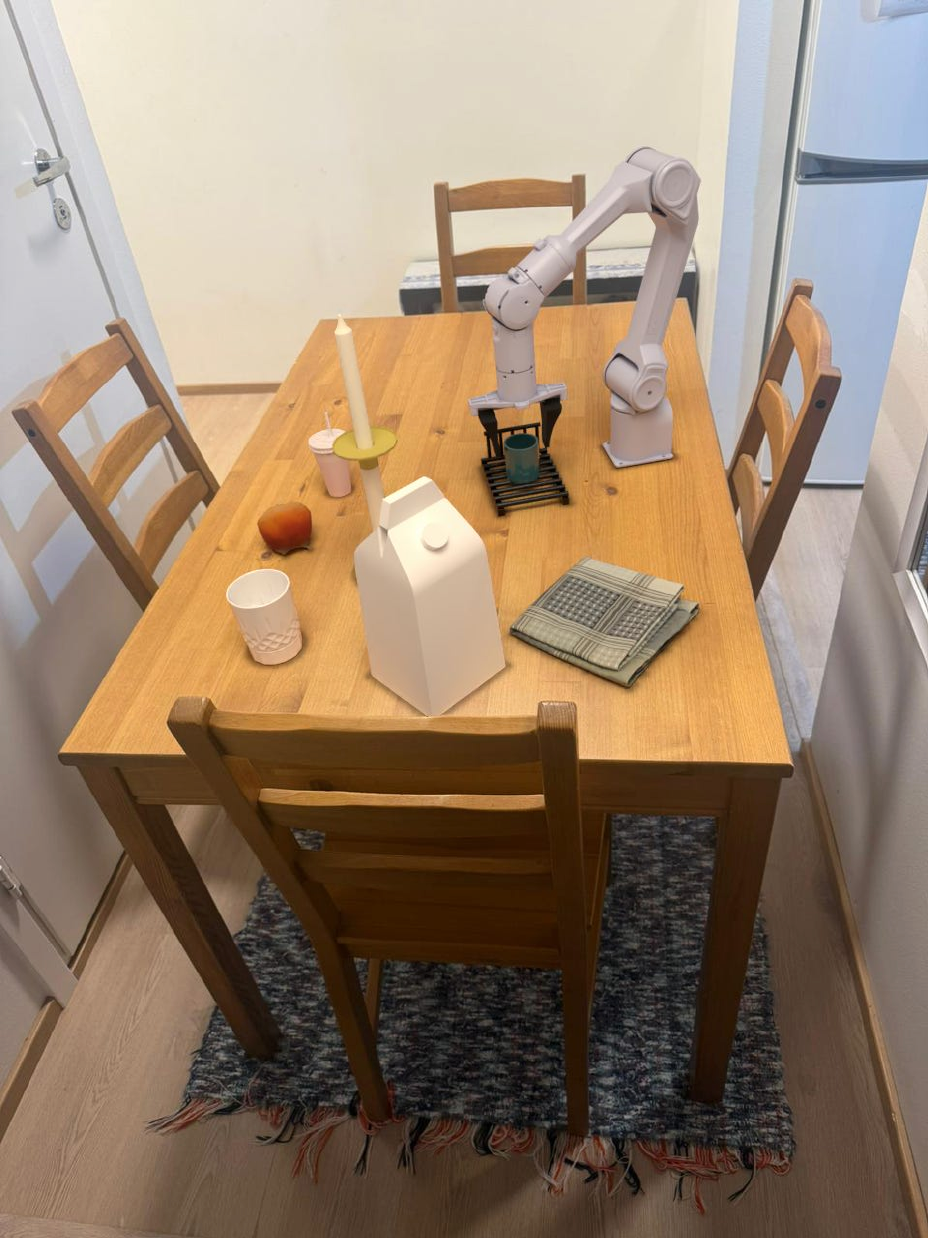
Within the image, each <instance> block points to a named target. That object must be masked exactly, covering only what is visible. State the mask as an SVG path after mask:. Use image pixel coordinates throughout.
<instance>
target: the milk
mask: <svg viewBox="0 0 928 1238" xmlns="http://www.w3.org/2000/svg"><path fill="white" fill-rule="evenodd" d="M437 485H438V484H436V482H435V481H434V480H433V479H432V478H430V477H428V476H427V475H426V476H425V475H424V476H423V475H422V477H420V478H417V479H416V480H414V481H413V482H411V483H409V484H407V485H405V486H404V487H401V488H400V489H398V490H396V491H395V492H392V493H391V494H389V495H387V496H386V497H385V498H384V499H382V505H381V512H380V520H379V527H378V528H377V529H376V530H375V531H374V532H373V531H372V532H371V533H370V534H369V535H368V536H367V537H366V538H364V540H363V541H362V542H360V544H359V545H357V546H356V547H355V551H354V553H353V564H354V572H355V571H356V576H355V578H356V577H357V580H356V583H357V588H358V589H357V590H358V597H359V602H360V608H361V609H360V610H361V616H362V622H363V629H364V634H365V642H366V647H367V648H366V649H367V653H368V654H367V655H368V661H369V667H370V674H371V677H372V678H374V679H375V680H376V681H378V682H379V683H381V684H382V685H383V686H384V687H386V688H387V689H388V690H390V691H391V692H393V693H394V694H396V696H399V697H400V698H401V699H403V700H404V701H405V702H407V703H408V704H409V705H411V706H412V707H413V708H415V709H417V710H418V711H419V712H420V713H422V714H423V715H425V716H426V717H427V716H439V717H440V716H442V715H443V714H444V713H445V712H447V711H448V710H449V709H451V708H452V707H453V706H455V705H457V703H459V702H460V701H461V700H463V699H464V698H466V697H467V696H468V695H470V694H471V693H472V692H474V691H476V689H478V688H479V687H481V686H482V685H483V684H484V683H486V682H488V681H489V680H490V679H491V678H493V677H494V676H496V675H497V674H498V673H500V672H501V671H502V670H503V669H505V668H506V667H507V665H506V659H505V652H504V648H503V641H502V635H501V629H500V624H499V616H498V611H497V604H496V599H495V593H494V588H493V587H494V586H493V582H492V575H491V568H490V564H489V563H490V562H489V558H488V557H489V556H488V551H487V548H486V545H485V543H484V541H483V539H482V537H480V535H479V533H478V532H477V531H476V530H475V529H474V527H472V526H471V525H470V523H469V522H468V521H467V520H466V518H465V517H463V515H462V514H461V513H460V512H459V511H458V510H457V509H456V507H454V505H453V504H452V503H451V502H450V501H449V500H448V498H446V497H445V495H444V494H443V492H442V491H441V490H440V488H439V487H438V486H437Z"/></svg>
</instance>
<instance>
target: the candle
mask: <svg viewBox="0 0 928 1238" xmlns="http://www.w3.org/2000/svg"><path fill="white" fill-rule="evenodd" d="M337 311H338V314H337V325H336V329H335V330H334V332H333V334H334V339H335V344H336V348H337V354H338V359H339V364H340V369H341V373H342V378H343V384H344V388H345V393H346V399H347V403H348V408H349V412H350V418H351V423H352V429H350V430H347V431H345V433H343V434H342V435H340V436H339V437H337V438H336V439H335V441H334V442H333V444H332V449H333V453H334V454H336V455H337V456H338V457H339V458H342V459H345V460H349V462H350V461H351V462H358V465H359V470H360V474H361V475H360V476H361V479H362V484H363V488H364V494H365V495H364V496H365V498H366V504H367V509H368V515H369V518H370V524H371V529H372V533H373V532H374V531H375V530H376V529H377V528H378V527H379V520H380V512H381V505H382V499H384V498H386V497H385V492H384V486H383V481H382V475H381V470H380V465H379V459H378V458H380V457H382V456H385V455H387V454H388V453H390V452H391V451H392V450H393V449H395V447H396V446H397V443H398V436H397V433H396V432H395V431H394V430H392V429H391V428H389V427H386V426H385V427H384V426H381V425H370V419H369V415H368V408H367V403H366V397H365V393H364V388H363V383H362V382H363V381H362V377H361V372H360V366H359V361H358V355H357V350H356V345H355V340H354V336H353V335H354V333H353V329H352V328H351V327H349V325H348V324H347V323H346V321H345V319H344V317H343V314H341V312H340V309H338V310H337ZM354 576H355V580H356V581H357V577H356V571H355V570H354Z"/></svg>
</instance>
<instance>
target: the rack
mask: <svg viewBox="0 0 928 1238" xmlns="http://www.w3.org/2000/svg"><path fill="white" fill-rule="evenodd" d="M540 427H542V422H540V421H538V422H532V423H526V424H521V425H520V424H519V425H514V426H509V427H508V426H507V427H502V428H498V441H499V447H500V456H495V455H494V456H493V454H492V442H491V439H490V437H489V435H488V433H487V432H486V430H484V431H483V436H484V437H485V439H486V449H487V457H482V458H480V466H481V467H480V468H481V471H482V474H483V476H484V479H485V482H486V485H487V488H488V491H489V494H490V496H491V499H492V503H493V505H494V508H495V511H496V513H497V516H498V517H503V516H506V511H505V508H509V507H514V506H520V505H527V504H531V503H538V502H544V501H549V500H554V499H559V500H560V502H561V504H562V505H563V506H566V505H569V504H570V493H569V490H566V489H567V487H566V484H563V478H562V477H560V471H557V466H556V465H554V460H553V458H551V454H550V453H548V451H549V450H548V448H545V447H541V445H540V444H541V443H540ZM527 429H529V430H530V429H534V434H535V435H534V436H536V437H537V438H538V440H539V458H540V476H539V477H538V478H537V479H536V480H534V481H533V482H529V483H522V484H520V483H514V482H511V481H509V480H508V479H507V477H506V470H505V458H504V446H503V442H504V439H503V434H505V433H509V432H510V436H511V435H514V434H515V432H517V431H522V433H528V432H527V431H528V430H527ZM535 481H536V482H535ZM535 488H536V489H535ZM506 493H507V494H506ZM546 493H547V494H546ZM535 495H537V496H535ZM524 497H525V498H524ZM512 499H513V500H512Z"/></svg>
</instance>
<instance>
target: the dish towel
mask: <svg viewBox="0 0 928 1238" xmlns="http://www.w3.org/2000/svg"><path fill="white" fill-rule="evenodd" d="M685 590H686V588H685V585H684V584H682V583H678V582H675V581H670V580H667V579H665V578H660V577H657V576H654V575H651V574H646V573H643V572H639V571H636V570H632V569H631V568H627V567H623V566H620V565H616V564H611V563H607V562H605V561H601V560H598V559H595V558H591V557H590V556H585V557H582V558H581V559H580V560H579V561H577V562H576V563H575V564H574V565H573V566H571V567H570V568H569V569H568V570H567V571H566V572H565V573H563V575H561V576H560V577H559V578H558V579H557V580H556V581H555V582H554V583H553V584H552V585H550V586H549V587H548V588H547V589H546V590H545V591H544V592H543V593H541V594H540V596H539V597H537V599H536V600H534V602H532V603H531V604H530V606H528V608H526V610H525V611H523V613H521V615H520V616H519V617H518V618H517V619H516V620H515V621H514V622H513V623H512V624H510V626H509V634H510V635H511V636H515V637H517V638H519V640H520V639H521V640H523V641H524V642H526V643H527V644H529V645H531V646H534V647H536V648H537V649H539V650H541V651H544V652H545V653H548V654H549V655H551V656H554V657H556V658H558V659H559V660H560V659H561V660H563V661H565V662H567V663H570V664H572V665H575V666H576V667H579V668H581V669H583V670H586V671H589V672H590V673H592V674H595V675H597V676H599V677H602V678H604V679H607V680H609V681H611V682H614V683H616V684H619V685H621V686H623V687H625V688H626V687H627V688H630V687H631V686H632V685H633V683H634V682H635V681H636V680H637V678H638V677H639V676H641V675H642V674H643V672H645V670H646V669H647V668H648V667H649V665H650V664H651V663H652V662H653V660H654V659H655V658H656V657H657V656H658V655H659V654H660V653H661V652H662V651H664V650H665V649H666V648H667V646H668V645H669V644H670V643H671V642H672V641H673V639H674V638H676V637H677V635H678V634H679V633H680V632H681V631H682V630H683V629H684V628H685V627H686V626H687V625H688V624H689V623H690V622H691V621H692V620H693V618H694V617H696V616H697V614H698V612H699V611H700V602H696V601H693V600H689V599H684V598H682V597H680V596H681V594H682V593H683V592H684V591H685Z"/></svg>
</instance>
